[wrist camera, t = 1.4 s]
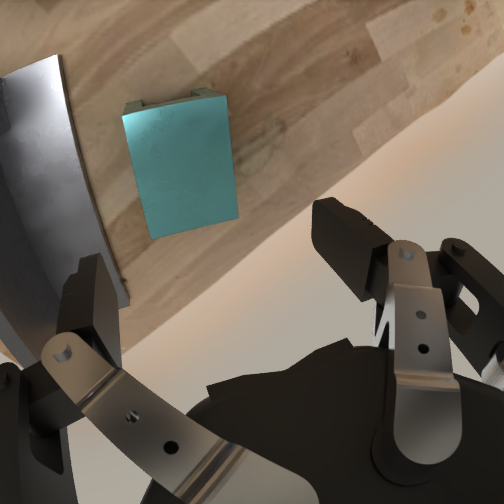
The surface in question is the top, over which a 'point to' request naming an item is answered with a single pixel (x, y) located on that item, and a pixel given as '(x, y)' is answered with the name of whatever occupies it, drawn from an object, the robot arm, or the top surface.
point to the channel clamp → (182, 161)
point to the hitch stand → (42, 208)
